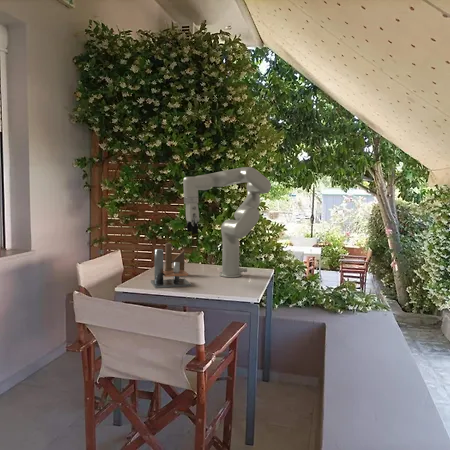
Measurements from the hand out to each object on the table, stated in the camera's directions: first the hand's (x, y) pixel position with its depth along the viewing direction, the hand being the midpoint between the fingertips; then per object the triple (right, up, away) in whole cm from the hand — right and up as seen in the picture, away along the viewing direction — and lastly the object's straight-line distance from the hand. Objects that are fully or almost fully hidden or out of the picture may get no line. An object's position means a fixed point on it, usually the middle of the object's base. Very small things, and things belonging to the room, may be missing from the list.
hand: (192, 232), depth 234 cm
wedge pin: (-8, -25, -8) cm, 27 cm away
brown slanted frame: (-11, -24, +16) cm, 31 cm away
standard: (-11, -26, -8) cm, 30 cm away
